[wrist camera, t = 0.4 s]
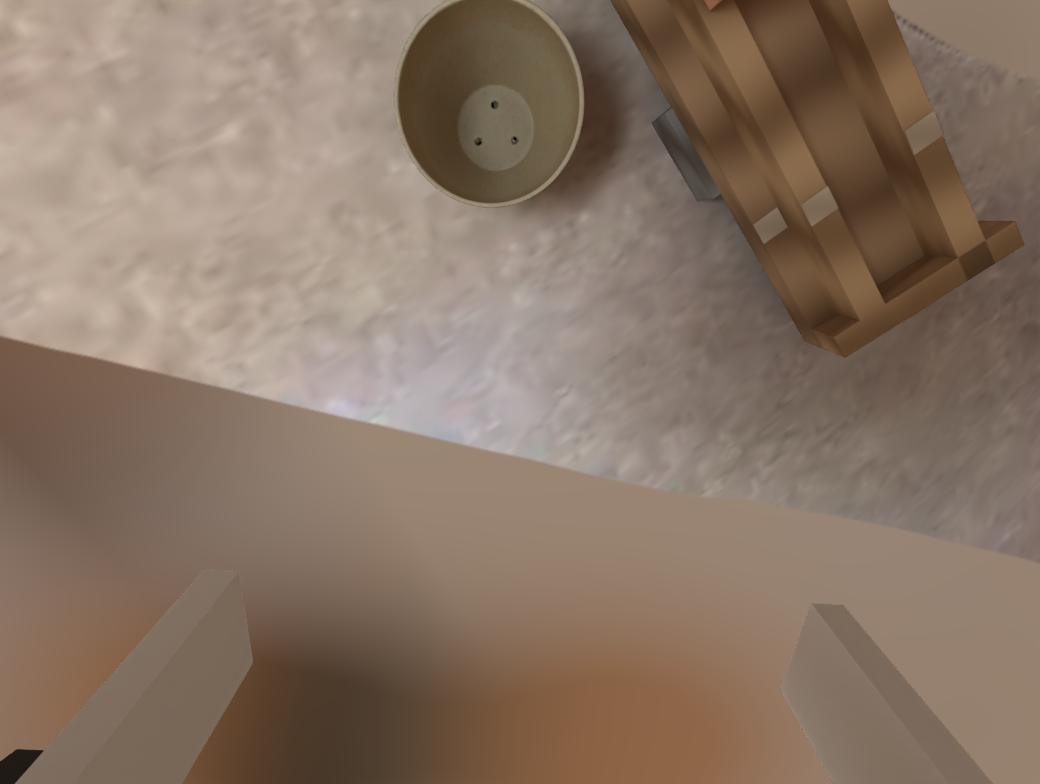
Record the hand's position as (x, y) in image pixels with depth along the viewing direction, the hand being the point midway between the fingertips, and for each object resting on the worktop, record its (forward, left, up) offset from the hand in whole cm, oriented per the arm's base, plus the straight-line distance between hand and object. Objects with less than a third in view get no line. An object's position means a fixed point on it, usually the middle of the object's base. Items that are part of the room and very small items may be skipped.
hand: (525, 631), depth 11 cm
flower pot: (-15, -1, -27) cm, 31 cm away
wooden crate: (-16, +16, -27) cm, 35 cm away
